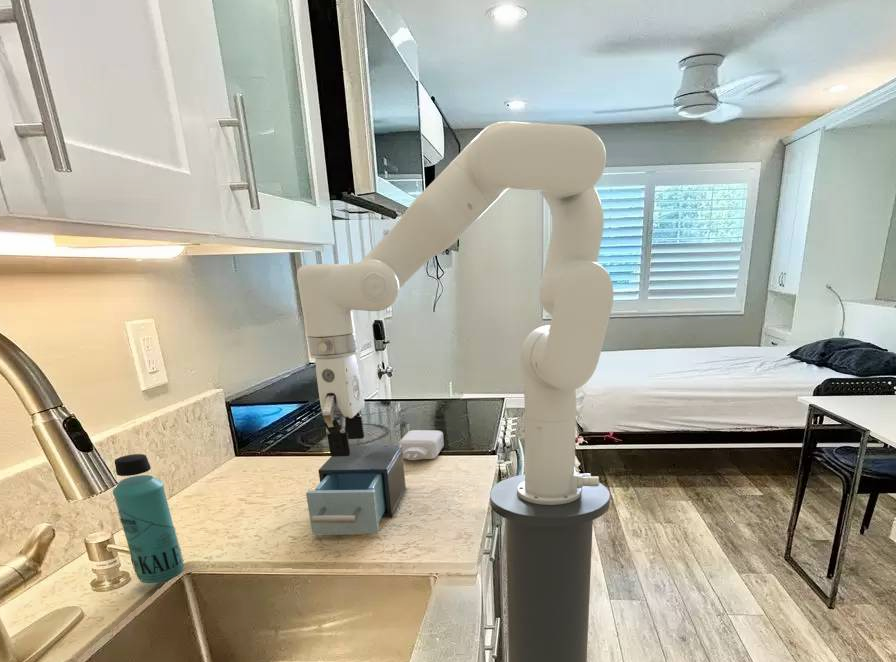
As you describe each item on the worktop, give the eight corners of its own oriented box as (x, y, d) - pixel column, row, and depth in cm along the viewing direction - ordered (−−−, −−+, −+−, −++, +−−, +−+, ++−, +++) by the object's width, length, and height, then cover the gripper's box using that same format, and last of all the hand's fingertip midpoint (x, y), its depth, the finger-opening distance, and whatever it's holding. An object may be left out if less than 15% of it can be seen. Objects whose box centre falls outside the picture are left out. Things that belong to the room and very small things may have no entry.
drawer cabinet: (392, 517, 106) (387, 469, 103) (325, 518, 107) (318, 470, 103) (405, 488, 120) (401, 445, 116) (346, 489, 120) (340, 446, 117)
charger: (392, 467, 133) (408, 447, 146) (430, 468, 132) (444, 448, 145) (390, 448, 131) (407, 430, 145) (429, 448, 130) (443, 430, 144)
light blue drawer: (371, 547, 93) (366, 503, 90) (302, 548, 94) (295, 504, 91) (393, 503, 110) (389, 465, 107) (335, 504, 111) (329, 466, 108)
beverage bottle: (158, 570, 90) (124, 449, 82) (197, 571, 89) (166, 449, 81) (128, 592, 84) (89, 463, 76) (170, 594, 83) (135, 464, 75)
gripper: (341, 353, 84) (357, 462, 91) (368, 337, 100) (380, 431, 107) (291, 355, 84) (311, 464, 91) (325, 340, 100) (340, 433, 107)
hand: (348, 446), depth 99 cm, fingers open, 9 cm apart
